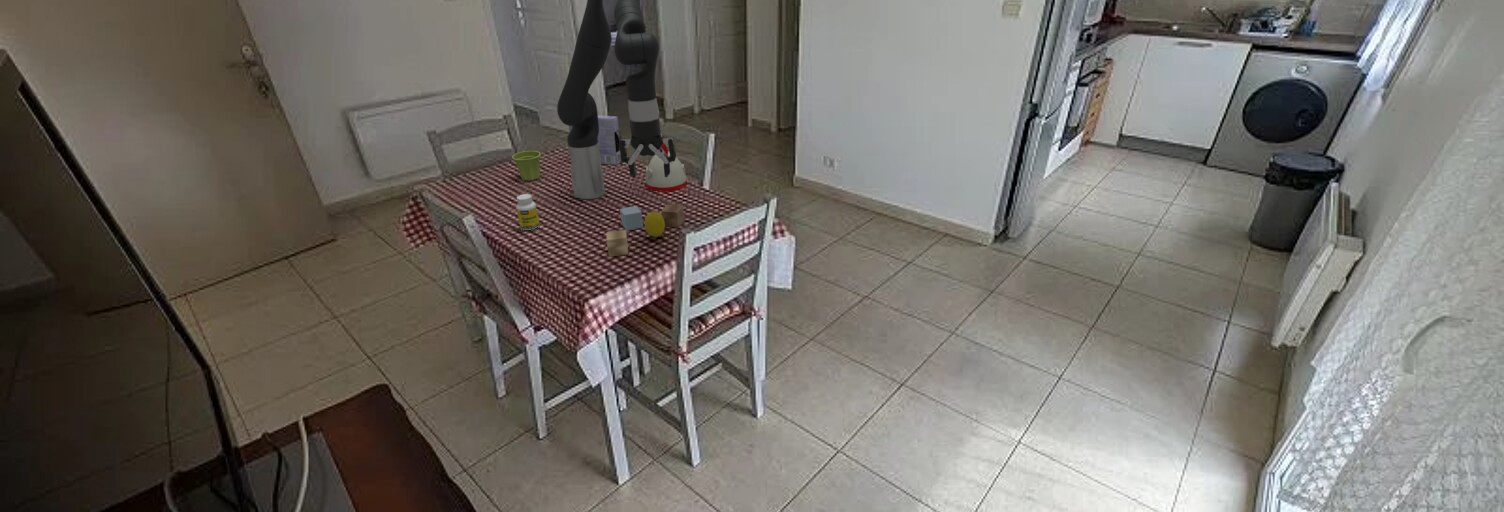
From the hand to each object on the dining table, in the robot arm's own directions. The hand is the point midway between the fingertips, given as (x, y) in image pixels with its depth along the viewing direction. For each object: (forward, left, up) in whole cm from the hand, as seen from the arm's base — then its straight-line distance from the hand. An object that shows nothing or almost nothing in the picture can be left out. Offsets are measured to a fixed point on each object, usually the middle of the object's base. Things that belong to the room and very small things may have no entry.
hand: (650, 176), depth 159 cm
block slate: (-8, +8, -18) cm, 21 cm away
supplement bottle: (-38, +8, -18) cm, 43 cm away
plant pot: (-51, +49, -18) cm, 73 cm away
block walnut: (+4, +9, -18) cm, 21 cm away
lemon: (0, 0, -18) cm, 18 cm away
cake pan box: (-31, +65, -18) cm, 74 cm away
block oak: (-9, -8, -18) cm, 22 cm away
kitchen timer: (-2, +41, -18) cm, 45 cm away
